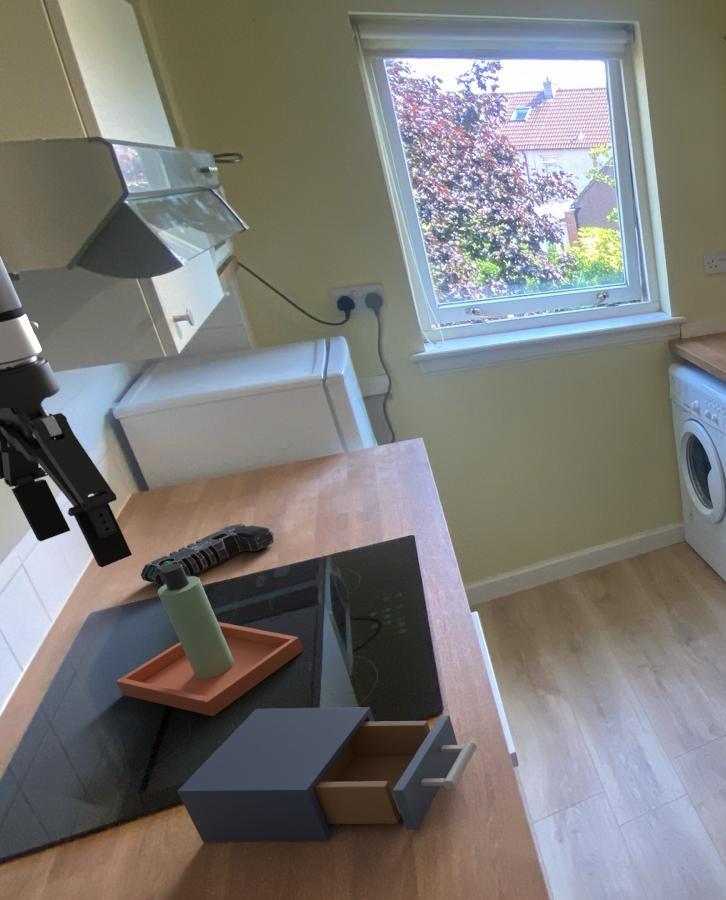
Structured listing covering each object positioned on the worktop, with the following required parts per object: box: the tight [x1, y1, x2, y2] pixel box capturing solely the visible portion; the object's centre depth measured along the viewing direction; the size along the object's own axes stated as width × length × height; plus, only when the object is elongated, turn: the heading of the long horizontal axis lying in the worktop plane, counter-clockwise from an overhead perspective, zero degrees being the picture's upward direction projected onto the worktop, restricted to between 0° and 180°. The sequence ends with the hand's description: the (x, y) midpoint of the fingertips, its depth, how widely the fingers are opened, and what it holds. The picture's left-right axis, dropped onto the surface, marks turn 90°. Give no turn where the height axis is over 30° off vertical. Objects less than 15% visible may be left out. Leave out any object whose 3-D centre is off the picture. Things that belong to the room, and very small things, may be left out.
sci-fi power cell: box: [140, 523, 275, 587], centre depth 139 cm, size 4×19×10 cm
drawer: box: [313, 714, 477, 831], centre depth 88 cm, size 18×11×6 cm, turn 89°
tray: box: [115, 621, 304, 717], centre depth 111 cm, size 18×15×3 cm
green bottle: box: [157, 563, 234, 679], centre depth 107 cm, size 5×5×18 cm
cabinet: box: [176, 706, 376, 843], centre depth 88 cm, size 15×13×8 cm
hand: (84, 547), depth 81 cm, fingers open, 13 cm apart
